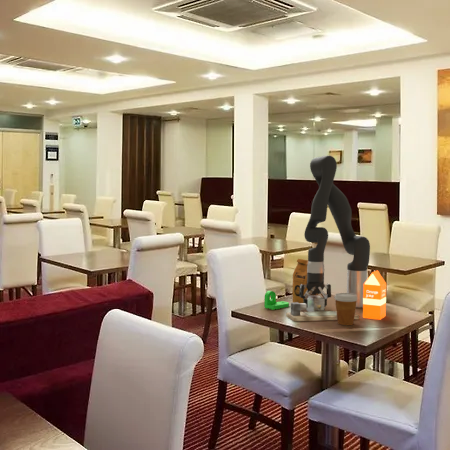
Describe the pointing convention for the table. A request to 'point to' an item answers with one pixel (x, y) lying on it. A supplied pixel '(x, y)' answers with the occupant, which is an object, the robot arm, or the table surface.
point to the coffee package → (300, 279)
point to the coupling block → (315, 303)
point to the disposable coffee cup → (345, 308)
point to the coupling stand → (310, 313)
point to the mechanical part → (273, 301)
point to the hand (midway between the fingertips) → (315, 307)
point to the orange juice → (374, 297)
